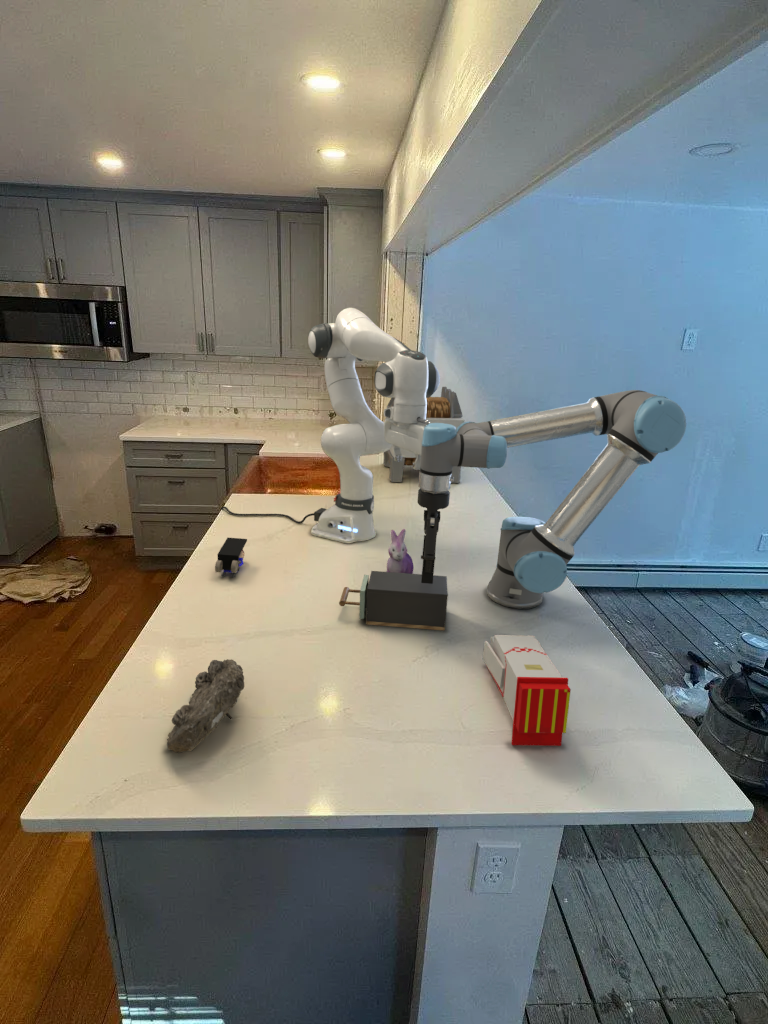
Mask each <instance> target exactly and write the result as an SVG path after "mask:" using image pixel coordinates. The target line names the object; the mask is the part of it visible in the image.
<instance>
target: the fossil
mask: <svg viewBox="0 0 768 1024" xmlns="http://www.w3.org/2000/svg"><path fill="white" fill-rule="evenodd" d="M243 670H244V669H243V667H242V665H240V664H237V662H236V661H235V660H234V659H232V658H231V659H227V658H226V659H224V660H223V661H222V660H217V659H212V660H211V661H210V663H209V665H208V666H207V671H201V672H199V673H198V674H197V675H196V676H195V680H194V684H195V685H194V687H195V689H194V690H193V693H192V694H191V697H190V698H189V700H188V704H184V705H182V706H181V707H180V709H177V710H176V711H175V713H174V715H173V716H172V718H171V723H172V724H173V727H172V730H171V731H170V732H168V734H167V738H166V741H167V742H166V745H167V749H168V750H169V751H173V752H174V753H176V754H178V753H182V752H188V751H189V752H192V751H193V750H195V748H196V747H197V746H199V744H200V743H201V742H203V741H204V740H205V739H206V738H207V737H208V736H209V735H210V734H211V733H212V732H214V730H215V729H217V727H218V726H219V724H220V722H221V721H222V720H223V719H224V718H225V716H226V717H227V719H229V720H233V717H232V715H230V714H229V710H230V709H231V708H234V706H235V704H236V703H237V702H238V699H239V697H240V695H241V693H242V691H243V690H245V689H244V688H245V675H244V671H243Z"/></svg>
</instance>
